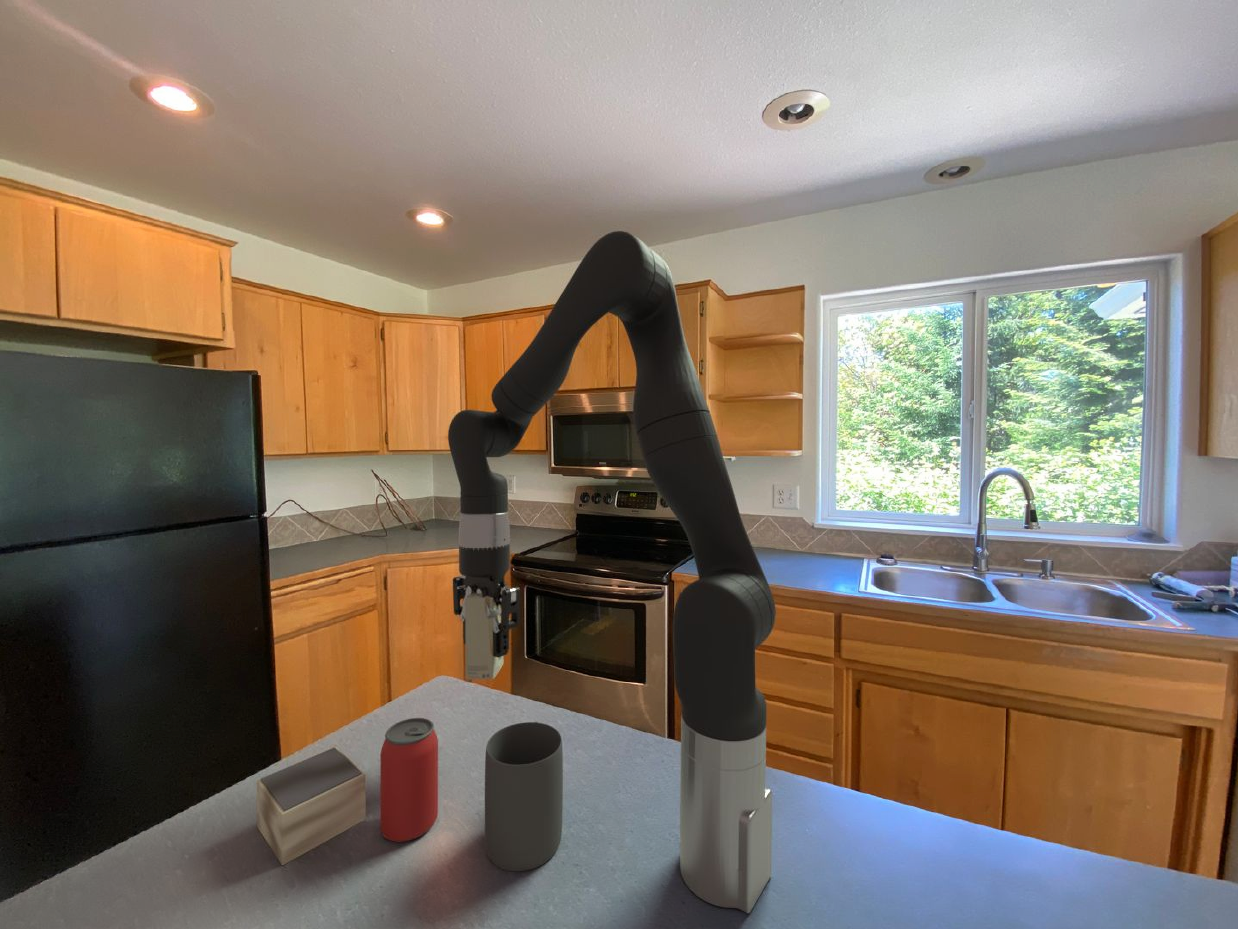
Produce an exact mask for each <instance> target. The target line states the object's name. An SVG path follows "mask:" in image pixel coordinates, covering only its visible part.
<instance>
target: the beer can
mask: <svg viewBox="0 0 1238 929" xmlns="http://www.w3.org/2000/svg"><path fill="white" fill-rule="evenodd" d="M434 727H435V725H434V722H433V721H431V720H430V719H428V718H426V717H425V718H424V717H413V718H411V717H410V718H407V719H403V720H400V721H399V722H396V723H395V724H392V725H391V726H390V727H389V728H388V729H387V730H386V732H385V734H384V737H385V739H384V741H383V744H382V747H381V750H380V768H379V770H380V776H379V777H380V779H379V780H380V789H379V790H380V797H379V798H380V803H379V804H380V807H379V808H380V809H379V810H380V812H379V813H380V814H379V815H380V819H379V820H380V823H379V824H380V825H379V826H380V832H381V835H382V836H383V837H384V838H385V839H387V840H389V841H391V842H394V843H396V842H397V843H398V842H399V843H404V842H409V841H412V840H414V839H418V838H420V837H421V836H423V835H424V834H425V833H427V832H428V831H429V830H430V829H432V827H434V824H435V822H436V821H437V819H438V814H439V739H438V735H437V734H436V731H435V729H434Z"/></svg>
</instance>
